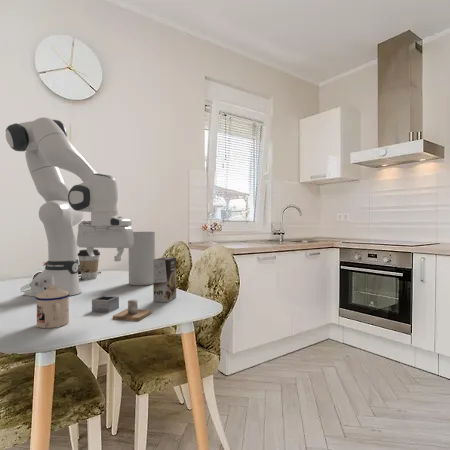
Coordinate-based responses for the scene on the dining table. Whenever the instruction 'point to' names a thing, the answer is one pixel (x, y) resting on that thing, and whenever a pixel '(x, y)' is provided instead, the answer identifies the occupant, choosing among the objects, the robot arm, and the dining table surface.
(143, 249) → the cylinder vase
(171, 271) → the coffee box
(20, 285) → the dining table surface
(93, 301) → the steel collar
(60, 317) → the teacup with lid
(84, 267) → the coffee cup
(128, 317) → the stand
